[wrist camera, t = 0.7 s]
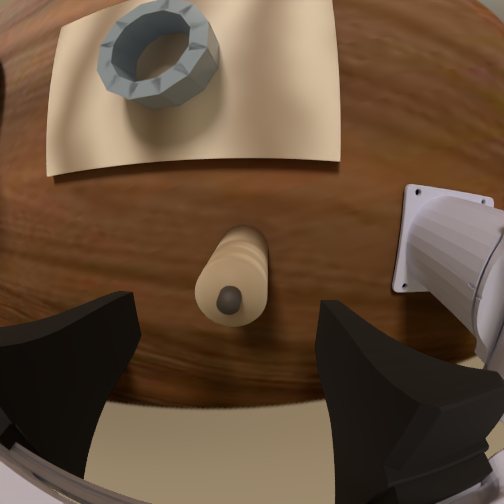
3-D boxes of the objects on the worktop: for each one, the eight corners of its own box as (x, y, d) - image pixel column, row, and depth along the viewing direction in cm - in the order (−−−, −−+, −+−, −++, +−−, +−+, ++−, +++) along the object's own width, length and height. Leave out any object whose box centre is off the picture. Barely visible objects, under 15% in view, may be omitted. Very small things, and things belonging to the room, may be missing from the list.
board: (327, -10, 13) (329, -15, 12) (337, 161, 17) (340, 161, 16) (66, 29, 14) (61, 27, 13) (53, 175, 18) (46, 176, 17)
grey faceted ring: (220, 16, 13) (211, -10, 10) (217, 103, 15) (205, 89, 12) (128, 32, 14) (106, 15, 10) (120, 115, 16) (93, 108, 12)
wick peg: (268, 225, 18) (268, 269, 11) (267, 270, 19) (266, 337, 12) (220, 224, 19) (187, 267, 11) (221, 269, 20) (194, 333, 12)
